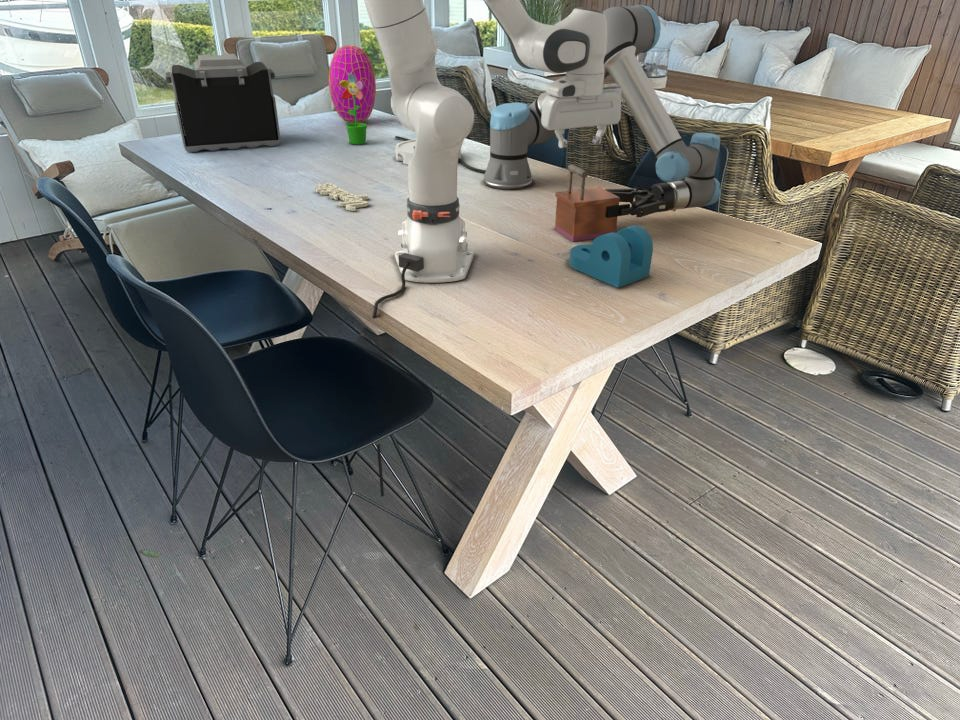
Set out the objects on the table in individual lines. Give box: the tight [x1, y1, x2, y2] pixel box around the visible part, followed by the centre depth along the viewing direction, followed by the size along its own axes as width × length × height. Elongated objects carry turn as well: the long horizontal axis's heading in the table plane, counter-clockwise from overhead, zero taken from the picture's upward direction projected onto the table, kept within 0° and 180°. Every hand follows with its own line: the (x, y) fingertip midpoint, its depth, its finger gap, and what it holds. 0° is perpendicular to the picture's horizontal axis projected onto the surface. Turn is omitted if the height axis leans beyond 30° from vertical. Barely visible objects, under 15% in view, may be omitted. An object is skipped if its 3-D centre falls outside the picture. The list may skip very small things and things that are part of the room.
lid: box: [554, 164, 620, 207], centre depth 173 cm, size 13×10×8 cm
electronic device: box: [164, 53, 282, 153], centre depth 252 cm, size 37×22×30 cm, turn 111°
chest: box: [554, 197, 620, 242], centre depth 178 cm, size 13×10×9 cm
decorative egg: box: [328, 44, 377, 124], centre depth 286 cm, size 19×19×30 cm
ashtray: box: [394, 138, 462, 165], centre depth 243 cm, size 23×23×4 cm
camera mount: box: [568, 224, 654, 289], centre depth 156 cm, size 18×10×10 cm, turn 39°
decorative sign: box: [315, 182, 369, 212], centre depth 203 cm, size 26×1×10 cm
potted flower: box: [339, 73, 368, 145], centre depth 255 cm, size 9×8×25 cm
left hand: (579, 145), depth 167 cm, fingers open, 8 cm apart
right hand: (596, 206), depth 178 cm, fingers closed on chest, 10 cm apart
